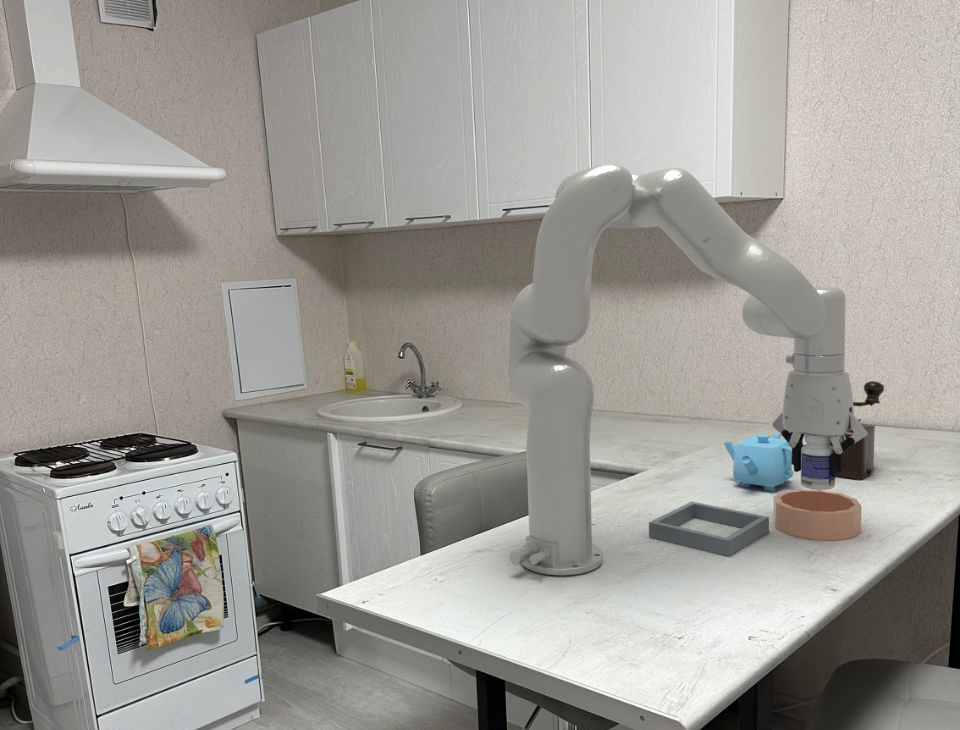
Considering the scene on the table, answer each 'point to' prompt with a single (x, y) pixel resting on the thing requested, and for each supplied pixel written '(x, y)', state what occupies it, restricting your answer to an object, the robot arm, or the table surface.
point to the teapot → (761, 461)
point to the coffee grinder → (862, 440)
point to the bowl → (817, 514)
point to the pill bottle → (817, 463)
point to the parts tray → (726, 546)
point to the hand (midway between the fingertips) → (817, 471)
